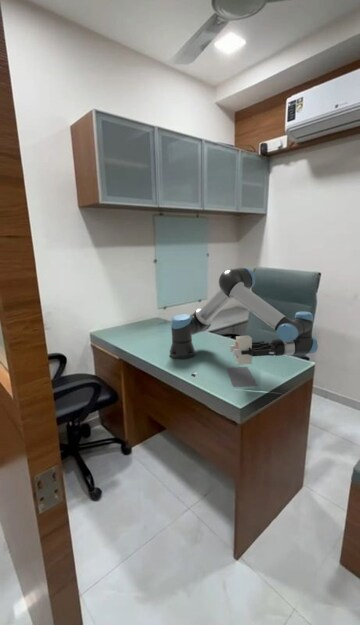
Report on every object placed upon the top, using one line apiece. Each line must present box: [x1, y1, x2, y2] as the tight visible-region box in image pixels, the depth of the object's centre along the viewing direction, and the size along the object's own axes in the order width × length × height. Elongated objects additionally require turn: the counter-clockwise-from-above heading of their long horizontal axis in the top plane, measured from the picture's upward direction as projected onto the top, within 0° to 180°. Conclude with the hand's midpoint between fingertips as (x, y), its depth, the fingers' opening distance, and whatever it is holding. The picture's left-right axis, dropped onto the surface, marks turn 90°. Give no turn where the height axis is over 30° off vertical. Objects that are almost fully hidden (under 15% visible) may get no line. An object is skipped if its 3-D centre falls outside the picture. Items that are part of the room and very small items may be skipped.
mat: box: [225, 366, 258, 388], centre depth 148 cm, size 22×11×1 cm, turn 0°
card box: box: [235, 335, 253, 366], centre depth 138 cm, size 6×4×12 cm
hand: (232, 350), depth 138 cm, fingers closed on card box, 4 cm apart
